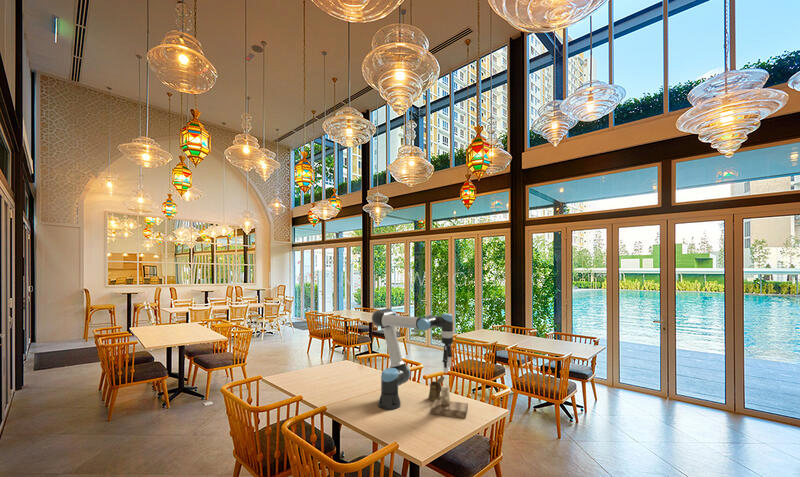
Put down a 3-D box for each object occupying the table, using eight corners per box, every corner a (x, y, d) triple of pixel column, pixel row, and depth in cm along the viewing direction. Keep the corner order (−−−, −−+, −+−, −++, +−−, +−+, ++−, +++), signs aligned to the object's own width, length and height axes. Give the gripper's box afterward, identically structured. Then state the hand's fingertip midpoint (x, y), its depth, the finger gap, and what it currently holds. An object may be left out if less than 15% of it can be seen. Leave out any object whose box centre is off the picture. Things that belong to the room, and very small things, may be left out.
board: (431, 413, 229) (431, 407, 229) (435, 405, 242) (435, 399, 242) (465, 418, 223) (465, 411, 223) (467, 409, 236) (467, 403, 236)
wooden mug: (437, 404, 245) (437, 377, 246) (425, 398, 256) (426, 372, 258) (447, 401, 250) (447, 375, 251) (435, 395, 261) (435, 370, 262)
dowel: (440, 411, 231) (440, 387, 232) (441, 408, 237) (441, 385, 238) (449, 412, 230) (449, 388, 231) (450, 409, 235) (450, 386, 236)
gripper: (449, 341, 225) (449, 375, 224) (455, 334, 249) (455, 365, 247) (438, 340, 228) (438, 374, 226) (445, 333, 251) (445, 364, 250)
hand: (447, 369), depth 237 cm, fingers open, 13 cm apart
